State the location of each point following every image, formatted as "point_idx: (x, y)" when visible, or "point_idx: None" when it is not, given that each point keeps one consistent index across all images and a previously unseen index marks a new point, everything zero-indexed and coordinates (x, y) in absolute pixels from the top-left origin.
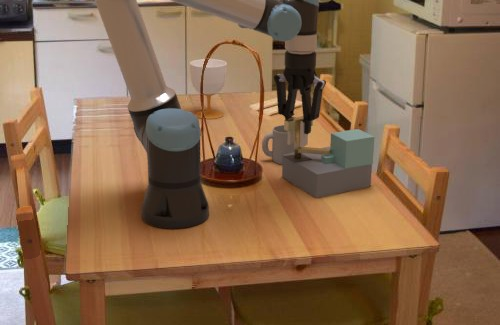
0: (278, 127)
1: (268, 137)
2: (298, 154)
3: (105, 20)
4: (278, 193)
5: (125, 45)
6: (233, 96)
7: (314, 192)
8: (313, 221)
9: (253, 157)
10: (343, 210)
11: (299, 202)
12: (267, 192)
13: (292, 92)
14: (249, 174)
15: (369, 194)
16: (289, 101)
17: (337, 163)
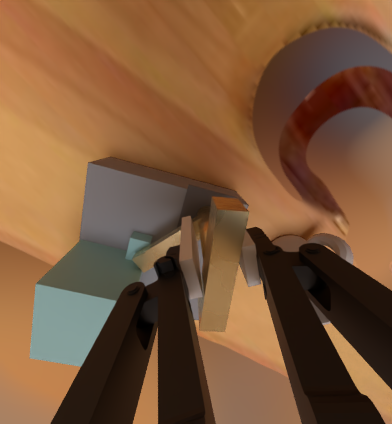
0: None
1: (340, 255)
2: (199, 213)
3: None
4: (179, 116)
5: None
6: None
7: (115, 159)
8: (8, 45)
9: (343, 227)
10: (28, 146)
11: (113, 111)
12: (199, 102)
13: (307, 402)
14: (295, 153)
15: (67, 240)
16: (290, 313)
17: (113, 248)
